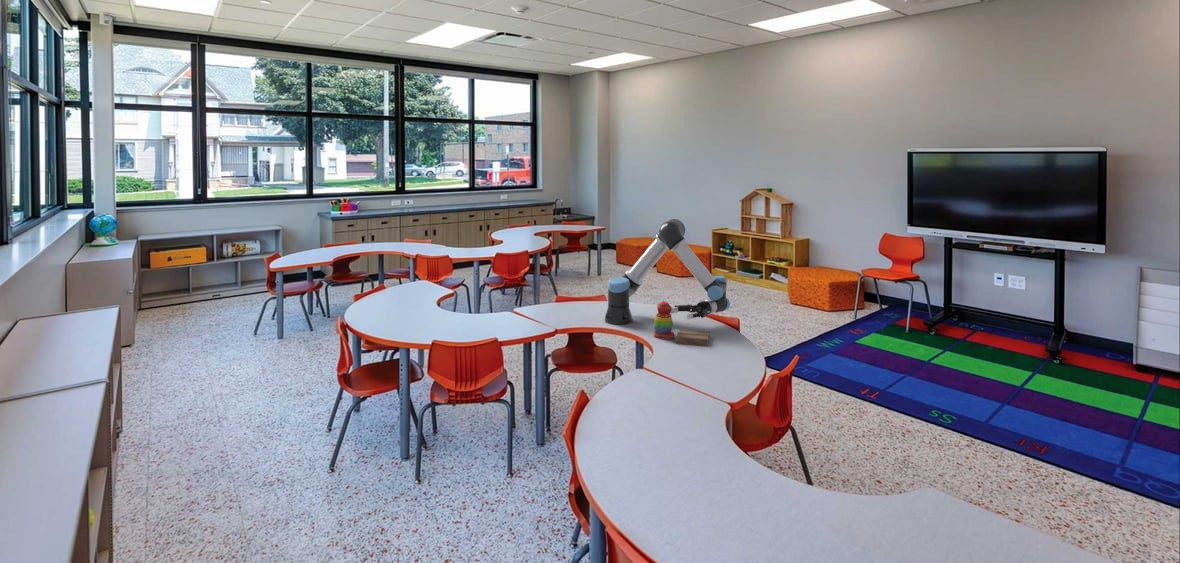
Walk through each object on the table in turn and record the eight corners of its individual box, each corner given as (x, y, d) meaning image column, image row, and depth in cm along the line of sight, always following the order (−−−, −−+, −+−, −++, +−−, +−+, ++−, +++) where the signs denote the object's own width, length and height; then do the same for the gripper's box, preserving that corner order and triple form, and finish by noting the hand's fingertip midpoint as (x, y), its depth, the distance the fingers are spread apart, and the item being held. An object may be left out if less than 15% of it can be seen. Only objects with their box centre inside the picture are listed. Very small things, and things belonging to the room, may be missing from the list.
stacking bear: (673, 340, 301) (674, 305, 297) (652, 338, 303) (653, 304, 299) (674, 333, 311) (675, 300, 308) (654, 332, 313) (655, 299, 310)
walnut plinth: (680, 334, 310) (680, 329, 309) (710, 337, 305) (710, 331, 305) (675, 343, 296) (675, 337, 295) (706, 345, 291) (707, 339, 291)
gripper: (724, 319, 314) (695, 326, 302) (688, 310, 334) (660, 316, 321) (724, 305, 313) (696, 311, 300) (689, 296, 332) (661, 302, 320)
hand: (677, 313), depth 311 cm, fingers open, 13 cm apart
